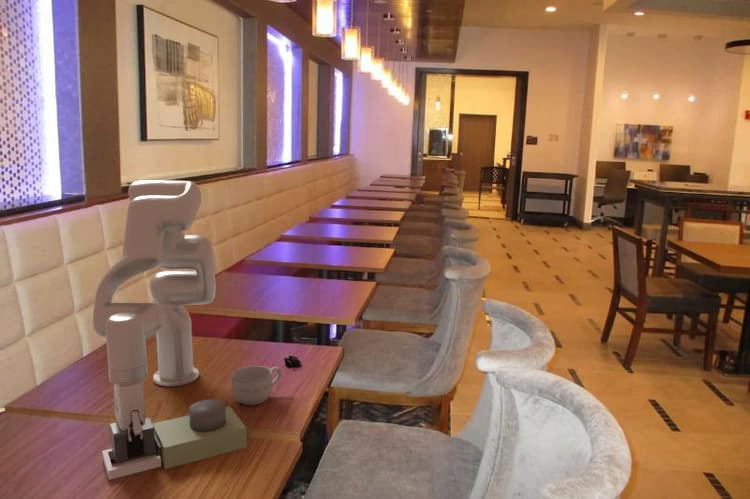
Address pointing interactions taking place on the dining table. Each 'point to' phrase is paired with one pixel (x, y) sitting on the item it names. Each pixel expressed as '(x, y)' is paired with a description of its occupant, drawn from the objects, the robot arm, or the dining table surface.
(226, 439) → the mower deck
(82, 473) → the dining table surface
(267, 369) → the teacup
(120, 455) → the grey block
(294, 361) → the wireless earbuds
